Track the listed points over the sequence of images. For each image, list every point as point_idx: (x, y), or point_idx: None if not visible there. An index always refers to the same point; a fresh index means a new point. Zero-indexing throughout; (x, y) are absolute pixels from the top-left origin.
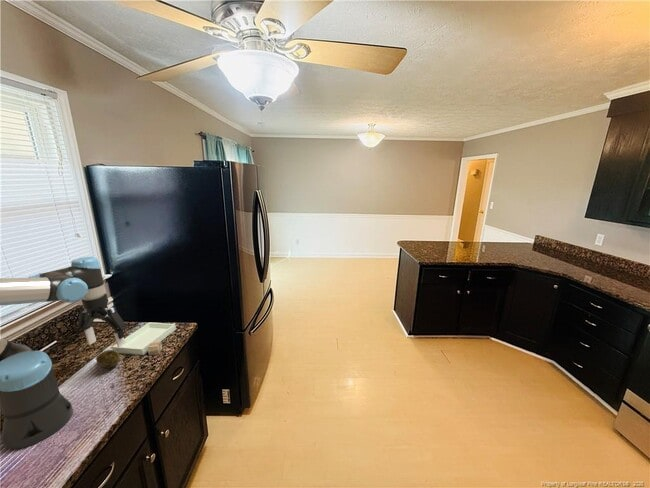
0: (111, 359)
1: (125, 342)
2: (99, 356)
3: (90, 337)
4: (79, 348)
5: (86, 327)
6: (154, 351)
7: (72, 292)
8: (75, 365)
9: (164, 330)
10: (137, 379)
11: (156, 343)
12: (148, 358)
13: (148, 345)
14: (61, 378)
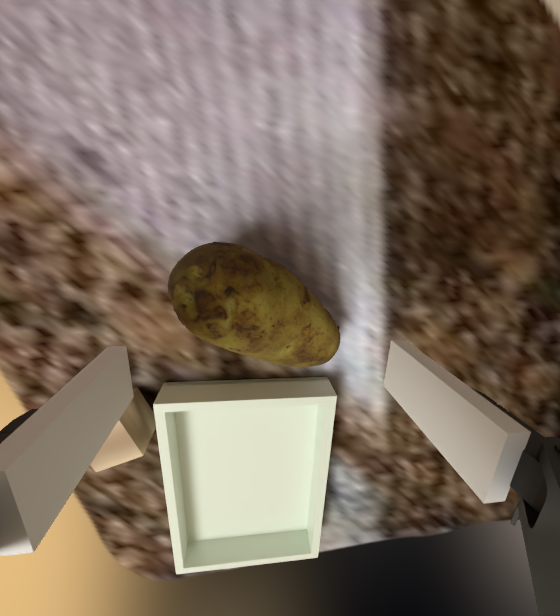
0: (170, 275)
1: (318, 436)
2: (252, 272)
3: (422, 387)
4: (499, 378)
5: (548, 484)
6: None
7: None
8: (427, 282)
9: (221, 527)
10: (3, 222)
11: (98, 452)
12: None
13: (159, 435)
14: (417, 194)
